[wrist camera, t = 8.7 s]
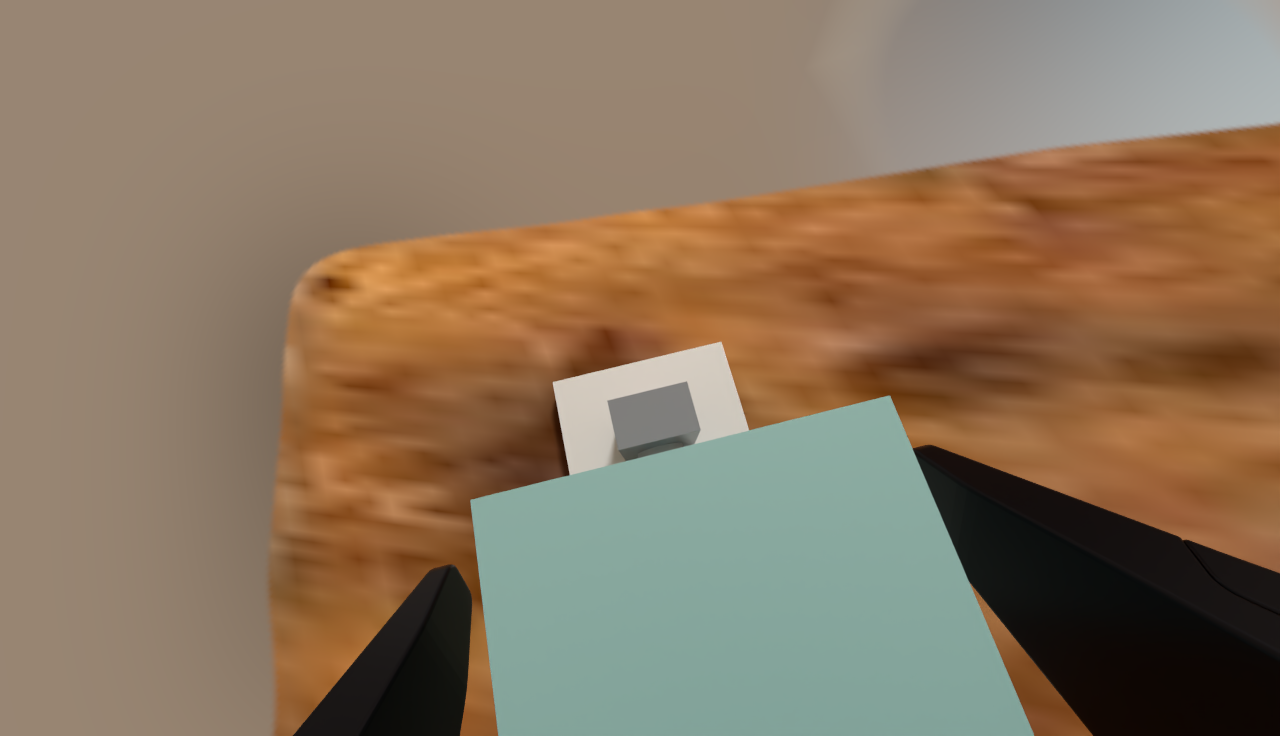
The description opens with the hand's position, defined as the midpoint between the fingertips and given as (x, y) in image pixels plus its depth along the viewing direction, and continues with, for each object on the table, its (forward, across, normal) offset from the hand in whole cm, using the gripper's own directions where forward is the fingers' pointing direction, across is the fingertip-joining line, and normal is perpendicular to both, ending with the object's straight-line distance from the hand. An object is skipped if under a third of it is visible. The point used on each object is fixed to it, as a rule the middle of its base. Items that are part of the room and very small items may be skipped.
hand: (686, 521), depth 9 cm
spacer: (+5, 0, +7) cm, 8 cm away
